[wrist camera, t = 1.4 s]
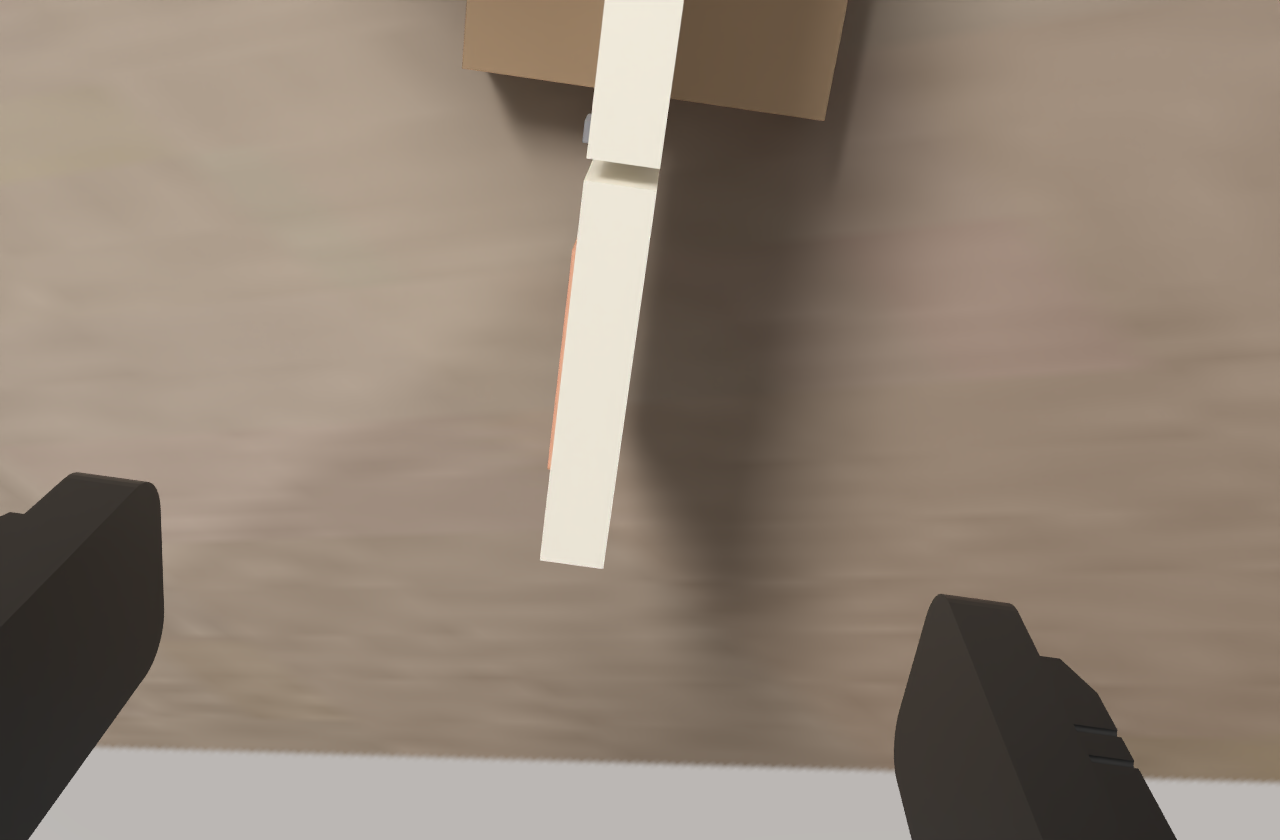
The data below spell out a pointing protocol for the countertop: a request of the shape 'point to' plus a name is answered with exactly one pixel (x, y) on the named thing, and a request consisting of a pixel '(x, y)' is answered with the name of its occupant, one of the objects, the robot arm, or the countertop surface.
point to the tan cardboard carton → (662, 59)
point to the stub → (597, 359)
